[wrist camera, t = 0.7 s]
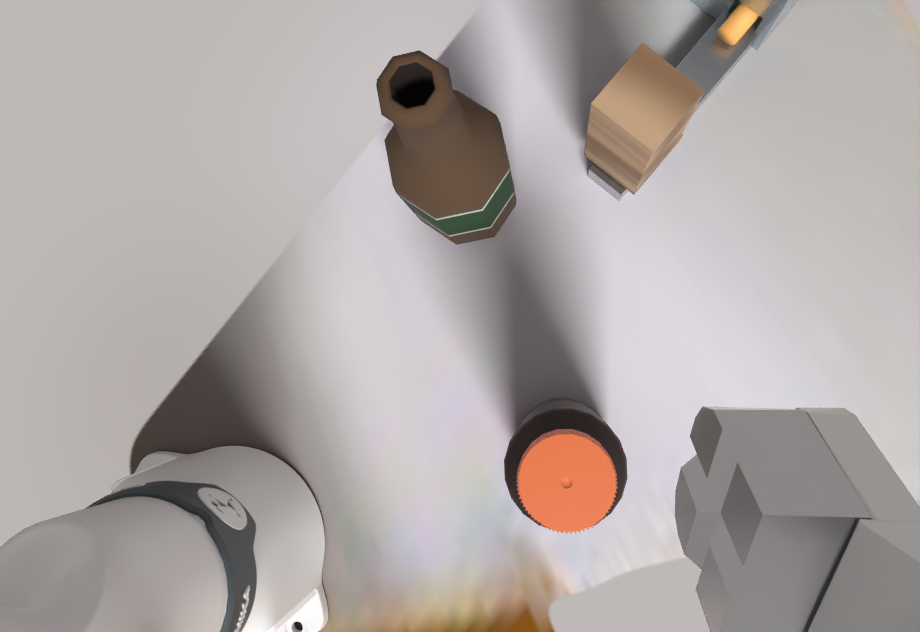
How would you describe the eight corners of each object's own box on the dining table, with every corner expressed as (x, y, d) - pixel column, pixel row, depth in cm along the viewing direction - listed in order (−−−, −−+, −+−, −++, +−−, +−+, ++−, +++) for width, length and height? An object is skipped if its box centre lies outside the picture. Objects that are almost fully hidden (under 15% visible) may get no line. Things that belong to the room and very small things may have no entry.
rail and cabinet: (624, 204, 59) (643, 158, 46) (552, 146, 60) (551, 85, 47) (788, 13, 58) (854, -88, 46) (712, -43, 59) (756, -157, 46)
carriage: (631, 197, 57) (652, 151, 45) (583, 158, 57) (591, 103, 45) (703, 114, 56) (743, 46, 44) (653, 76, 57) (679, -1, 45)
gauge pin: (732, 48, 56) (738, 39, 55) (715, 34, 57) (719, 25, 55) (779, -6, 56) (785, -17, 55) (761, -19, 57) (767, -31, 55)
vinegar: (624, 423, 58) (661, 450, 38) (585, 507, 58) (601, 578, 38) (540, 382, 59) (532, 388, 39) (501, 465, 59) (474, 514, 39)
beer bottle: (428, 138, 61) (348, -10, 37) (527, 155, 60) (510, 15, 36) (407, 237, 61) (313, 151, 37) (507, 256, 60) (476, 180, 36)
